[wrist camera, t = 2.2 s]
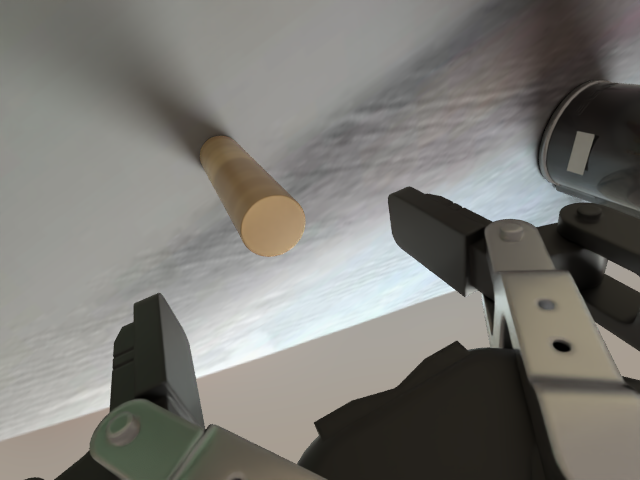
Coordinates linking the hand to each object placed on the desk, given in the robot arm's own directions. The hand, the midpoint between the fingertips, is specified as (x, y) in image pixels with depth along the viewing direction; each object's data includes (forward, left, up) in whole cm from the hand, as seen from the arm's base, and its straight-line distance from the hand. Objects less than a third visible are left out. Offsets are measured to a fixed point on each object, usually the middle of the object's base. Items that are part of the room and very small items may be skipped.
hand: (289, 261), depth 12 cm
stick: (0, 0, -12) cm, 12 cm away
